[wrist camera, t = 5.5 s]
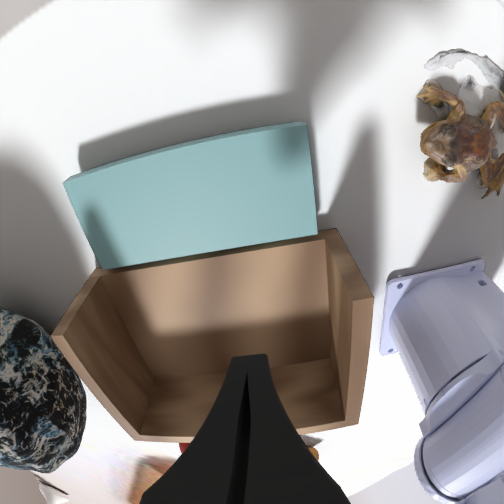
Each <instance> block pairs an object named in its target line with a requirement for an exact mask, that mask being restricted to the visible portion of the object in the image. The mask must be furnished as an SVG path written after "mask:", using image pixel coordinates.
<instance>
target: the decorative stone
mask: <svg viewBox="0 0 504 504" xmlns="http://www.w3.org/2000/svg"><path fill="white" fill-rule="evenodd" d="M85 424H86V394H85V391H84V388H83V385H82V383H81V380H80V378H79V376H78V374H77V373H76V372H75V370H74V369H73V368H72V366H71V365H70V363H69V362H68V361H67V359H66V358H65V356H64V355H63V354H62V352H61V351H60V349H59V348H58V346H57V345H56V343H55V342H54V340H53V339H52V337H51V336H50V335H49V334H48V333H47V332H46V331H45V330H44V329H43V328H42V327H41V326H40V325H39V324H37V323H36V322H35V321H33V320H31V319H28V318H26V317H24V316H21V315H18V314H15V313H13V312H11V311H8V310H6V309H4V308H2V307H0V466H3V467H10V468H15V469H24V470H34V471H37V472H41V473H51V472H53V471H55V470H56V469H57V468H58V467H59V466H60V465H61V464H63V463H64V462H65V461H67V460H68V459H70V458H71V457H72V456H73V455H74V454H75V453H76V452H77V451H78V449H79V446H80V443H81V440H82V435H83V432H84V429H85Z"/></svg>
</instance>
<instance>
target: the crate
mask: <svg viewBox="0 0 504 504" xmlns="http://www.w3.org/2000/svg"><path fill="white" fill-rule="evenodd" d="M317 232H318V234H316V235H310V236H304V237H298V238H292V239H285V240H279V241H273V242H267V243H261V244H255V245H249V246H243V247H237V248H230V249H224V250H218V251H212V252H206V253H200V254H194V255H188V256H182V257H176V258H170V259H165V260H159V261H153V262H147V263H141V264H135V265H129V266H123V267H118V268H112V269H106V270H102V268H96V269H95V270H94V271H93V273H92V274H91V276H90V277H89V278H88V280H87V281H86V283H85V284H84V286H83V287H82V288H81V290H80V291H79V293H78V294H77V296H76V297H75V299H74V300H73V302H72V303H71V305H70V306H69V308H68V309H67V311H66V312H65V314H64V315H63V317H62V318H61V320H60V321H59V323H58V325H57V326H56V328H55V329H54V331H53V333H52V334H51V337H52V339H53V340H54V342H55V343H56V345H57V346H58V348H59V349H60V351H61V352H62V354H63V355H64V356H65V358H66V359H67V361H68V362H69V363H70V365H71V366H72V368H73V369H74V370H75V372H76V373H77V374H78V376H79V377H80V378H81V379H82V381H83V382H84V383H85V385H86V386H87V387H88V388H89V390H90V391H91V392H92V393H93V395H94V396H95V397H96V398H97V399H98V401H99V402H100V403H101V404H102V405H103V407H104V408H105V409H106V410H107V411H108V412H109V413H110V415H111V416H112V417H113V418H114V419H115V420H116V421H117V422H118V423H119V425H120V426H121V427H122V428H123V429H124V430H125V431H126V432H127V433H128V434H129V435H130V436H131V437H132V438H133V439H134V440H137V441H152V442H178V443H191V441H192V440H193V438H194V437H195V435H196V434H197V432H198V431H199V429H200V428H201V426H202V424H203V423H204V421H205V419H206V417H207V416H208V414H209V412H210V410H211V408H212V406H213V404H214V402H215V400H216V398H217V396H218V393H219V391H220V389H221V387H222V384H223V382H224V379H225V377H226V374H227V371H228V368H229V365H230V361H231V359H232V358H233V357H236V356H246V355H254V354H263V353H264V354H266V355H267V356H268V361H269V366H270V370H271V375H272V380H273V384H274V386H275V389H276V391H277V394H278V396H279V398H280V401H281V403H282V405H283V407H284V409H285V411H286V413H287V415H288V417H289V419H290V420H291V422H292V424H293V426H294V427H295V429H296V431H297V432H298V434H299V435H302V434H309V433H315V432H321V431H326V430H332V429H337V428H342V427H346V426H351V425H356V424H358V422H359V417H360V411H361V405H362V399H363V393H364V386H365V380H366V372H367V365H368V357H369V348H370V339H371V328H372V317H373V304H374V296H373V294H372V292H371V291H370V289H369V287H368V285H367V283H366V281H365V279H364V277H363V276H362V274H361V272H360V270H359V268H358V266H357V264H356V263H355V261H354V259H353V257H352V255H351V254H350V252H349V250H348V248H347V247H346V245H345V243H344V241H343V240H342V238H341V236H340V234H339V233H338V231H337V229H336V228H335V229H328V230H322V231H317Z"/></svg>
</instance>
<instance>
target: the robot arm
mask: <svg viewBox="0 0 504 504" xmlns="http://www.w3.org/2000/svg"><path fill="white" fill-rule="evenodd" d="M471 267H472V268H471ZM484 268H485V262H484V261H483V260H482V259H479V260H475V261H471V262H467V263H463V264H458V265H454V266H450V267H446V268H441V269H437V270H432V271H428V272H423V273H419V274H414V275H410V276H405V277H400V278H395V279H392V280H390V281H388V283H387V285H386V294H385V305H384V315H383V324H382V332H381V340H380V347H379V352H380V354H381V355H388V354H392V353H396V352H399V355H400V357H401V359H402V361H403V364H404V366H405V368H406V370H407V373H408V375H409V377H410V379H411V382H412V384H413V386H414V389H415V391H416V394H417V396H418V398H419V401H420V403H421V406H422V408H423V411H424V413H425V415H426V417H425V418H424V419H423V421H422V422H420V424H419V425H420V428H421V431H422V434H423V437H422V438H421V439H420V440H419V442H418V444H417V446H416V449H415V454H414V465H415V470H416V474H417V477H418V480H419V481H420V484H421V485H422V487H423V488H424V490H425V491H426V492H427V493H428V494H429V495H430V496H431V497H432V498H434V499H435V500H437V501H439V502H441V503H444V504H504V293H503V292H502V290H501V289H500V288H499V287H498V286H497V285H496V284H495V283H494V282H493V281H492V280H491V279H490V278H489V277H488V275H487V274H486V273H485V272H484ZM399 283H401V284H400V285H399V286H397V285H398V284H399ZM140 504H351V503H350V502H349V500H348V498H347V497H346V495H345V494H344V492H343V491H342V489H341V487H340V486H339V485H338V484H337V483H336V482H335V481H334V480H333V479H332V477H331V476H330V475H329V474H328V473H327V472H326V471H325V469H324V468H323V467H322V466H321V465H320V463H319V462H318V461H317V460H316V458H315V457H314V456H313V454H312V453H311V451H310V450H309V449H308V447H307V446H306V445H305V443H304V442H303V440H302V439H301V437H300V435H299V434H298V432H297V431H296V429H295V427H294V426H293V424H292V422H291V420H290V419H289V417H288V415H287V413H286V411H285V409H284V407H283V405H282V403H281V401H280V398H279V396H278V394H277V391H276V389H275V386H274V384H273V380H272V375H271V370H270V366H269V361H268V356H267V355H266V354H264V353H263V354H254V355H246V356H236V357H233V358H232V359H231V361H230V365H229V368H228V371H227V374H226V377H225V379H224V382H223V384H222V387H221V389H220V391H219V393H218V396H217V398H216V400H215V402H214V404H213V406H212V408H211V410H210V412H209V414H208V416H207V417H206V419H205V421H204V423H203V424H202V426H201V428H200V429H199V431H198V432H197V434H196V435H195V437H194V438H193V440H192V441H191V443H190V444H189V445H188V447H187V448H186V449H185V451H184V452H183V453H182V455H181V456H180V457H179V458H178V459H177V461H176V462H175V463H174V464H173V465H172V466H171V467H170V468H169V469H168V470H167V472H166V473H165V474H164V475H163V476H162V477H161V478H160V479H159V480H157V481H156V482H155V483H154V484H153V485H152V486H151V487H150V488H149V489H147V490H146V491H145V492H144V493H143V495H142V498H141V501H140Z"/></svg>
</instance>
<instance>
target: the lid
mask: <svg viewBox="0 0 504 504" xmlns="http://www.w3.org/2000/svg"><path fill="white" fill-rule="evenodd" d="M63 185H64V187H65V190H66V192H67V195H68V197H69V199H70V202H71V204H72V207H73V209H74V211H75V213H76V216H77V218H78V220H79V222H80V225H81V227H82V229H83V231H84V233H85V235H86V238H87V240H88V242H89V244H90V246H91V248H92V250H93V252H94V254H95V256H96V258H97V260H98V262H99V264H100V266H101V268H102V270H106V269H112V268H118V267H123V266H129V265H135V264H141V263H147V262H153V261H159V260H165V259H170V258H176V257H182V256H188V255H194V254H200V253H206V252H212V251H218V250H224V249H230V248H237V247H243V246H249V245H255V244H261V243H267V242H273V241H279V240H285V239H292V238H298V237H304V236H310V235H316V234H318V232H317V219H316V207H315V196H314V186H313V176H312V166H311V157H310V149H309V140H308V132H307V125H306V124H305V123H304V122H303V121H300V122H292V123H285V124H278V125H272V126H265V127H259V128H253V129H248V130H242V131H237V132H231V133H226V134H221V135H216V136H212V137H207V138H202V139H198V140H193V141H189V142H185V143H181V144H176V145H172V146H168V147H165V148H161V149H157V150H153V151H149V152H146V153H142V154H139V155H135V156H132V157H128V158H125V159H122V160H118V161H115V162H112V163H109V164H105V165H102V166H99V167H96V168H93V169H90V170H87V171H84V172H81V173H79V174H76V175H73V176H70V177H69V178H68V179H67V180H66V181H64V182H63Z"/></svg>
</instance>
